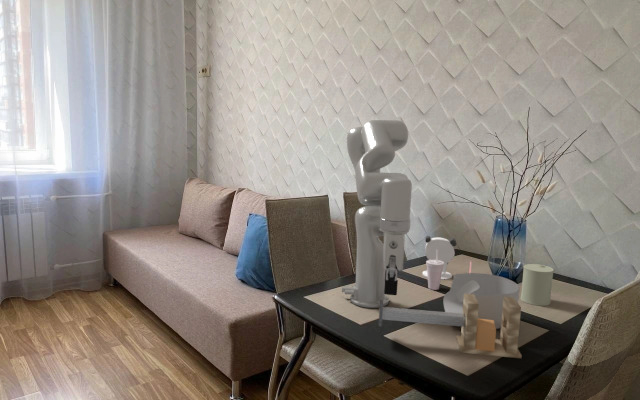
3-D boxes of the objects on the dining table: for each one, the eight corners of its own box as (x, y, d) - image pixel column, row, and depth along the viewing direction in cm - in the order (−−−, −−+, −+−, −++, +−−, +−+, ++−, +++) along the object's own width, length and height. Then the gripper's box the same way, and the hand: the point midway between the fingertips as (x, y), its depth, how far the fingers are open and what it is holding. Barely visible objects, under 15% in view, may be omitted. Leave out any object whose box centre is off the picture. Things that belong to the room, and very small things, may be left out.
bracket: (460, 352, 112) (464, 303, 111) (456, 338, 120) (459, 292, 118) (521, 358, 110) (526, 308, 108) (512, 343, 118) (517, 296, 116)
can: (554, 300, 150) (557, 266, 148) (545, 308, 143) (549, 272, 141) (525, 293, 156) (528, 260, 154) (516, 300, 149) (519, 266, 148)
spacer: (475, 348, 113) (477, 326, 112) (473, 339, 118) (475, 318, 117) (494, 351, 112) (496, 329, 111) (491, 341, 117) (493, 320, 116)
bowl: (525, 337, 122) (529, 296, 120) (454, 333, 124) (457, 292, 122) (503, 309, 142) (506, 273, 140) (441, 306, 143) (444, 270, 142)
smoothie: (444, 291, 157) (447, 252, 154) (426, 290, 157) (428, 252, 155) (440, 285, 163) (442, 248, 161) (422, 284, 163) (424, 247, 161)
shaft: (378, 326, 116) (379, 308, 115) (379, 317, 122) (380, 299, 121) (467, 334, 113) (468, 315, 112) (463, 324, 118) (464, 306, 118)
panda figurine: (452, 272, 179) (455, 235, 177) (454, 281, 168) (457, 242, 166) (422, 269, 182) (424, 233, 179) (422, 278, 171) (424, 240, 169)
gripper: (410, 234, 106) (405, 301, 109) (408, 218, 123) (404, 277, 126) (378, 232, 107) (374, 299, 110) (380, 216, 124) (377, 274, 127)
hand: (390, 287), depth 118 cm, fingers open, 9 cm apart
